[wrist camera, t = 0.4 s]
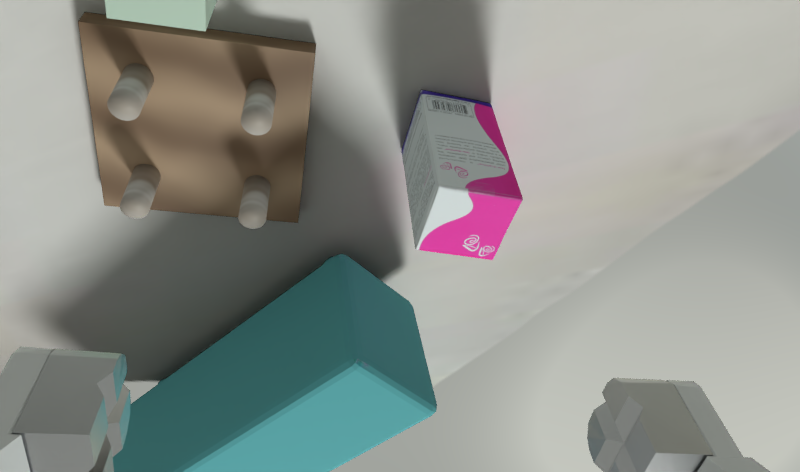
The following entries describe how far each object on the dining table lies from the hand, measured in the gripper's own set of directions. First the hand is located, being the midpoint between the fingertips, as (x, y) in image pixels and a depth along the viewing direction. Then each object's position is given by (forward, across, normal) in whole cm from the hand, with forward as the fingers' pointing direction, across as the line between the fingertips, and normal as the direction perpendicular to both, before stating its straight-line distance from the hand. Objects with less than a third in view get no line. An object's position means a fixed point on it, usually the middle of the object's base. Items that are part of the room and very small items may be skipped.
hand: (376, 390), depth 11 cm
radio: (+41, +4, +39) cm, 57 cm away
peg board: (+38, +9, +14) cm, 42 cm away
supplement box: (+38, -9, +12) cm, 41 cm away
